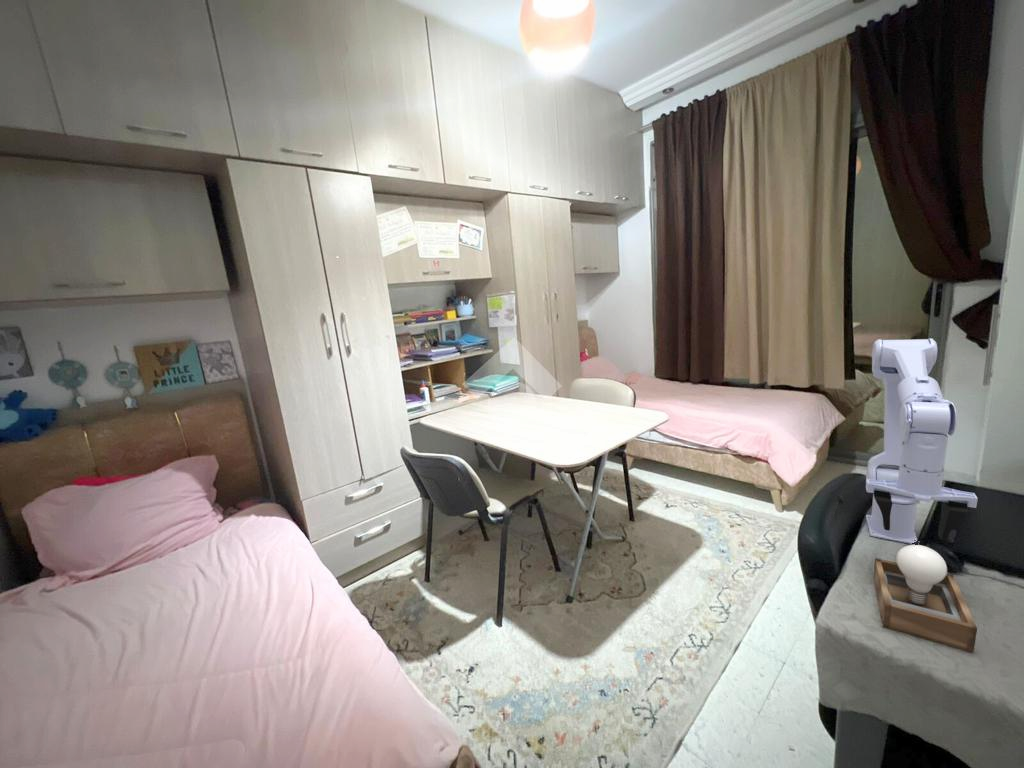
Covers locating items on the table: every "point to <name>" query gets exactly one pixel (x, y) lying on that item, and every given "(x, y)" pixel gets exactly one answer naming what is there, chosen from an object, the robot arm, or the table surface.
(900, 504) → the robot arm
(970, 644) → the socket box
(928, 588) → the lightbulb
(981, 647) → the table surface
